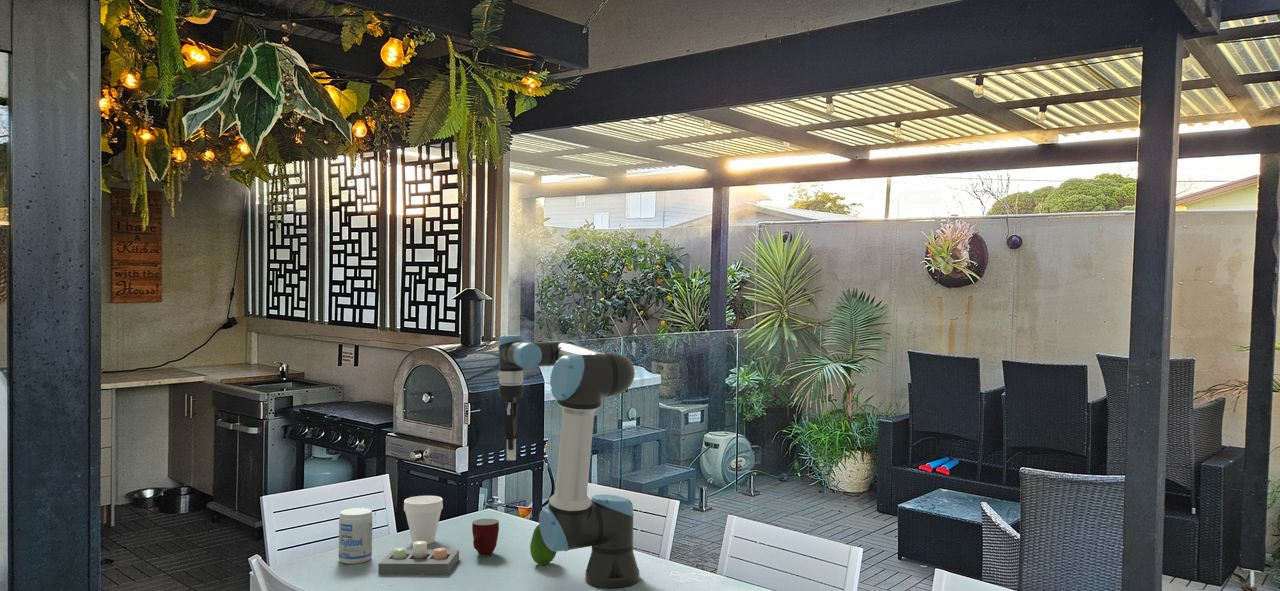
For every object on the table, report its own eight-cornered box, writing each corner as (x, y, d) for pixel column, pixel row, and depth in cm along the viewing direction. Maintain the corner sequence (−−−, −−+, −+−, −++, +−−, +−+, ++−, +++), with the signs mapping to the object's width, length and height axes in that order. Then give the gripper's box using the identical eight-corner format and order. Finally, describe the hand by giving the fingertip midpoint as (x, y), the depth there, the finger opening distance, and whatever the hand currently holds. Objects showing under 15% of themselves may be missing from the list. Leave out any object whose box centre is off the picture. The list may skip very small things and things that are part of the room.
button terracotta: (448, 561, 257) (448, 547, 257) (445, 565, 253) (445, 551, 253) (435, 561, 257) (435, 547, 257) (431, 565, 253) (431, 551, 253)
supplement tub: (338, 566, 256) (338, 516, 256) (339, 557, 265) (339, 508, 265) (372, 563, 259) (372, 513, 259) (372, 554, 268) (372, 506, 268)
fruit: (562, 563, 258) (562, 523, 258) (545, 570, 252) (545, 528, 252) (542, 558, 263) (542, 519, 263) (524, 565, 256) (524, 524, 256)
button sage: (408, 561, 257) (408, 547, 257) (404, 565, 253) (404, 551, 253) (395, 560, 257) (394, 547, 257) (390, 565, 253) (390, 551, 253)
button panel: (459, 559, 262) (459, 549, 262) (447, 574, 248) (447, 563, 248) (393, 559, 262) (393, 549, 262) (378, 574, 248) (378, 563, 248)
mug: (490, 561, 260) (490, 527, 260) (464, 559, 262) (464, 526, 262) (502, 551, 271) (502, 519, 271) (478, 549, 272) (478, 517, 272)
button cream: (428, 554, 257) (428, 541, 257) (424, 558, 253) (424, 544, 253) (415, 554, 257) (414, 540, 257) (411, 558, 253) (411, 544, 253)
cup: (396, 545, 277) (396, 502, 278) (416, 535, 289) (416, 494, 289) (430, 548, 274) (430, 505, 274) (449, 538, 286) (449, 496, 286)
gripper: (502, 382, 278) (502, 456, 278) (495, 386, 265) (496, 463, 265) (525, 382, 278) (525, 456, 278) (520, 386, 265) (520, 463, 265)
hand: (511, 459), depth 272 cm, fingers closed
